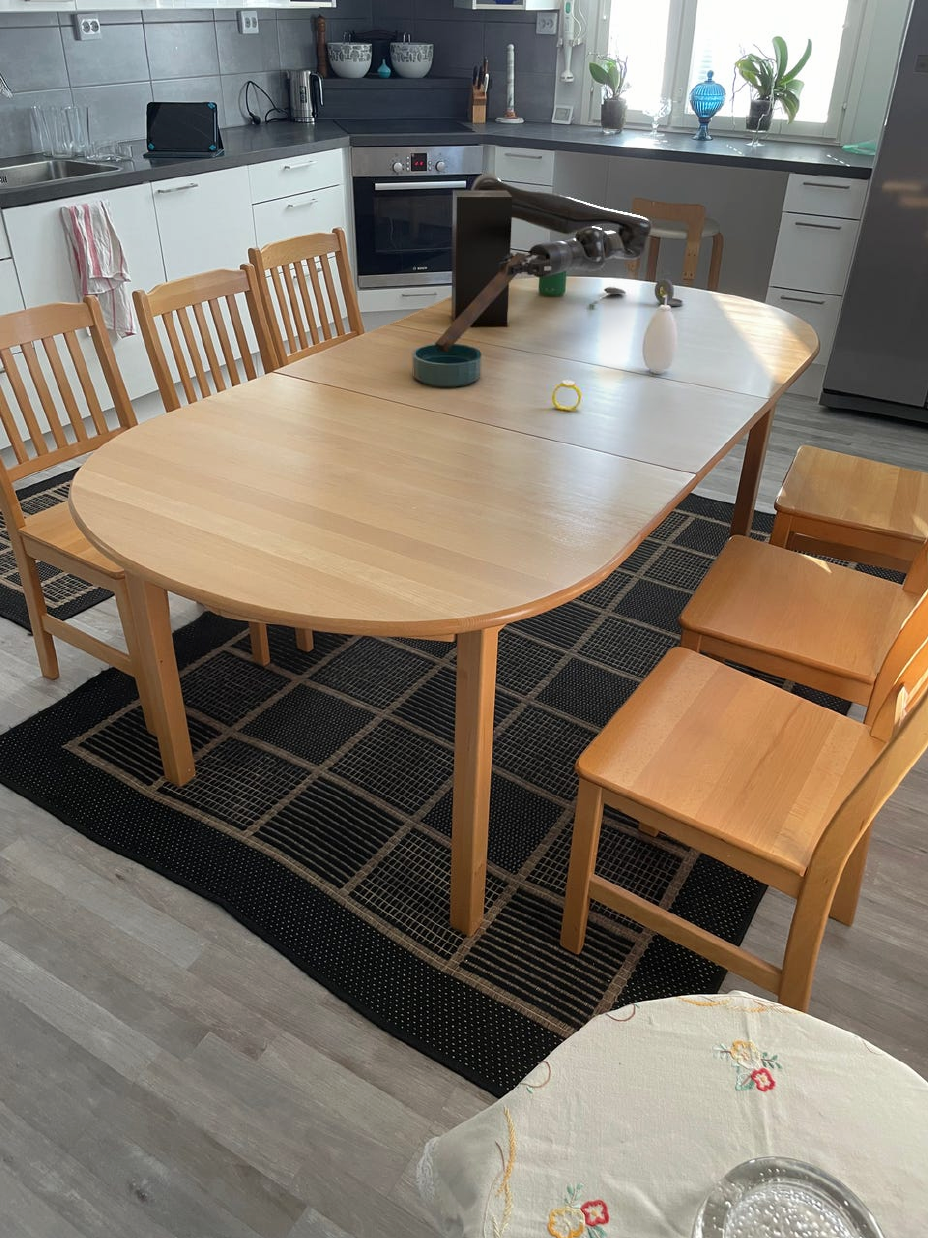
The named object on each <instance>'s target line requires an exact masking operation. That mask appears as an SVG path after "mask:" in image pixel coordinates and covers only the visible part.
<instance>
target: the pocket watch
mask: <svg viewBox="0 0 928 1238" xmlns="http://www.w3.org/2000/svg"><path fill="white" fill-rule="evenodd" d="M665 272H666V273H665ZM662 274H663V275H664V277H665V278H661V279H659V280H658V281H657V282H656V284H655V286H654V296H655V299H656V300H657V302H659V304H660V305H664V304H665V298H666V294H667V305H668V306H670V307H679V306H681V305H683V300H681V299H679V298H674V294H675V288H674V284H673V283H672V281H671V280H670V279H668V277H669V276H670V275H671V273H670V271H669V270H667V269H664V270H663V271H662Z"/></svg>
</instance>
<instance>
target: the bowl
mask: <svg viewBox="0 0 928 1238" xmlns="http://www.w3.org/2000/svg"><path fill="white" fill-rule="evenodd" d="M482 355H483V354H482V352H481V351H480V350H479V349H477V348H475V347H473V346H469V345H466V344H459V343H455V344H454V345H453V346H452V347H451V348H450V349H449V350H448V351H447V353H443V352H440V351H438V349H437V347H436V345H435V343H431V344H425V345H422V346H419V347H417V348H416V349H413V351H412V352H411V374H412V377H413V378H414V379H416V380H417V381H419V382H420V383H422V384H425V385H427V386H431V387H437V388H457V387H464V386H467V385H470V384H473V383H474V382H476V381H477V380H479V379H480V378H481V376H482V357H483V356H482Z"/></svg>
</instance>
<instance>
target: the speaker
mask: <svg viewBox="0 0 928 1238" xmlns="http://www.w3.org/2000/svg"><path fill="white" fill-rule="evenodd" d="M512 202H513V197H512V196H511V195H510V194H509V192H508V191H481V190H471V189H470V190H455V189H454V190H452V223H451V224H452V225H451V226H452V228H451V229H452V230H451V231H452V233H451V234H452V235H451V236H452V237H451V315H450V316H451V320H452V324H453V323H454V321H455V320H456V319H457V318H458V317H459V316H460V315H461V314H462V313H463V312H464V310H465V309H466V308H467V307H468V306H469V305H470V304H471V303H472V302H473V301H474V299H475V298H476V297H477V296H478V295H479V294H480V293H481V292H482V291H483V290H484V288H485V287H486V286H487V285H488V284H489V283H490V282H491V281H492V280H493V279H494V277H495V276H496V275H497V274H498V273H499V272H498V264H499V263H501V262H504V257H505V256H507V255H508V254H510V253H511V246H512V245H511V244H512V224H513V222H512V221H513V217H512ZM509 291H510V283H509V284H508V285H507V286H506V287H505V288H504V289H503V290H502V291H501V292H500V294H499V295H498V296H497V297H496V298H495V299H494V300H493V301H492V302H491V304H490V305H489V306H488V307H487V308H486V309H485V310H484V311H483V312H482V314H481V315H480V316H479V317H478V318H477V319H476V320H475V321H474V322H473V324H472V325H471V326H470V327H469V328H495V327H496V328H497V327H498V328H499V327H508V319H509V318H508V315H509V296H510V295H509V293H510V292H509Z"/></svg>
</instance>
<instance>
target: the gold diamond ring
mask: <svg viewBox="0 0 928 1238" xmlns="http://www.w3.org/2000/svg"><path fill="white" fill-rule="evenodd" d="M562 387H563V388H568V389H573V390H574V391H576V393H577V396H578V401H577V403H575V405H574V406H572V407H569V406H563V405H560V404H559V403H558V402H557V400H556V396H555V395H556V391H557V390H558V389H559V388H562ZM551 400H552V404H553V406H554V407H555V408H556V409H557V410H561V411H567V412H572V411H574V410H576V409H577V408H578V407H579V405H580V403H581V401H582V393H581V390H580V388H579V386H577V385H576V382H575V381H573V380H567V379H566V380H562V381H561V383H559V384H557V386H556V387H555V388H554V389H553V392H552V396H551Z"/></svg>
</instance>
